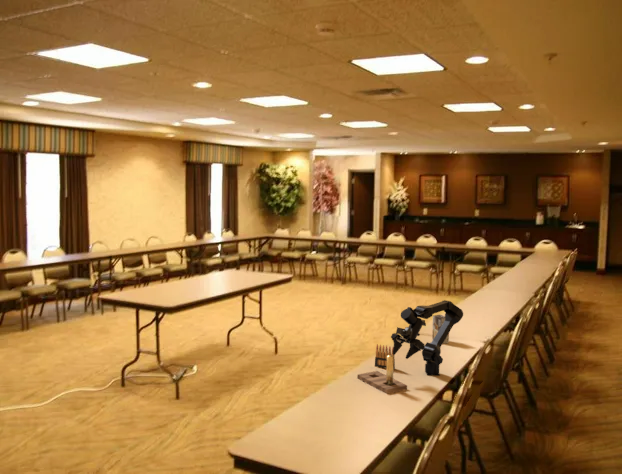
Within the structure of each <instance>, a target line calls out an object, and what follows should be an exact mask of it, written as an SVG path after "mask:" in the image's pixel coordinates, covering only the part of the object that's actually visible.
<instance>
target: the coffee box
mask: <svg viewBox="0 0 622 474" xmlns="http://www.w3.org/2000/svg"><path fill="white" fill-rule="evenodd" d="M444 321H445V315H442V314H435V315H432V339H431V340H432V341H433V339H434V338H435V336H436V334H437V333H438V331H439V329H440V328H441V326H442V324H443V323H444ZM449 339H450V333H449V334H448V335H447V337H446V339H445V340H444V342H443V344H449ZM432 341H431V342H432ZM443 344H442V345H443Z"/></svg>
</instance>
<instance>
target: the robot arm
mask: <svg viewBox="0 0 622 474" xmlns="http://www.w3.org/2000/svg"><path fill="white" fill-rule="evenodd" d="M442 311H444V312H445V313H444V316H445V321H444V323H443V324H442V326H441V328H440V329H439V331H438V333H437V334H436V336H435V338H434V339H433V341H431V342H426V343H424V342H423V341H421V340H420V339H418V338H417V337H420V335H421V334H420V331H421V329H422V327H423V326H424V327H426V326H427V323H426V320H428V319H429V318H430V319H431V318H432V317H433V316H434V314H438V313H439V312H442ZM463 316H464V312H463V310H462V309H461V308H460V307H458V306H457V305H455V304H454V302H452V301H450V300H446V299H444V300H442V301H440V302H436V303H433V304H430V305H429V304H428V305H424V304H423V305H417V306H416V307H415V308H414V309H413V308H412V307H411V306H410V307H409V306H407V308H405V309H404V310H402V311H401V313H400V318H401V319H402V320H404V322H405V323H407V324H408V325H409V326H406V327H405V328H402V327H397V326H396V331H395V332H393V333H392V334H391V336H390V338H391V340H392V342H393V346H392V347H393V355H394V356H395V355H396V353H398V352H399V350H400V349H401V348H402V346H403V344H404V343H405V344H409V349H408V350H407V353H406V355H405V359H406V360H408V359H409V358H411V357H412V356H413V355H416V353H418V352H421V354H422V358H423V359H422V360H423V361H425V362H426V363H425V364H424V372H425V374H426V376H441V374H440V365H441V364H442V363H443V361H444V359H443V357H442V356H441V351H442V350H441V348H442V345H443V342H444V340H445V339H446V337H447V335H448V334H449V335H450V332H451V330H452V329H453V327H454V325H456V324H459V322H460V321H461V320H462V319H463Z"/></svg>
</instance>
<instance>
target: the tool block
mask: <svg viewBox="0 0 622 474" xmlns="http://www.w3.org/2000/svg"><path fill="white" fill-rule="evenodd" d="M356 376H357V378H356V379H358V380H360V381H361V382H363V383H366V384H368V385H369V386H371V387H373V388H375V389H376V390H379V391H380V392H383V393H384V394H386V395H388V394H392V393H397V392H402V391H405V390H407V389H408V385H407V384H405V383H403V382H400V381H399V380H397V379H394V378H393V385H392V386H387V385H386V374H384V373H382V372H380V371H378V370H375V371H369V372H363V373H358V374H357V375H356Z"/></svg>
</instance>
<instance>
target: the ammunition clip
mask: <svg viewBox="0 0 622 474" xmlns="http://www.w3.org/2000/svg"><path fill="white" fill-rule="evenodd" d="M393 347H394V346H392V347H391V346H390V345H389V346H388V345H386V346H385V345H381V344H380V345H378V344H376V349H375V358H374V367H378V368H382V369H387V355H393ZM393 356H394V357H395V355H393ZM395 364H396V363H395V358H394V361H393V370H395V367H396V365H395Z"/></svg>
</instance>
